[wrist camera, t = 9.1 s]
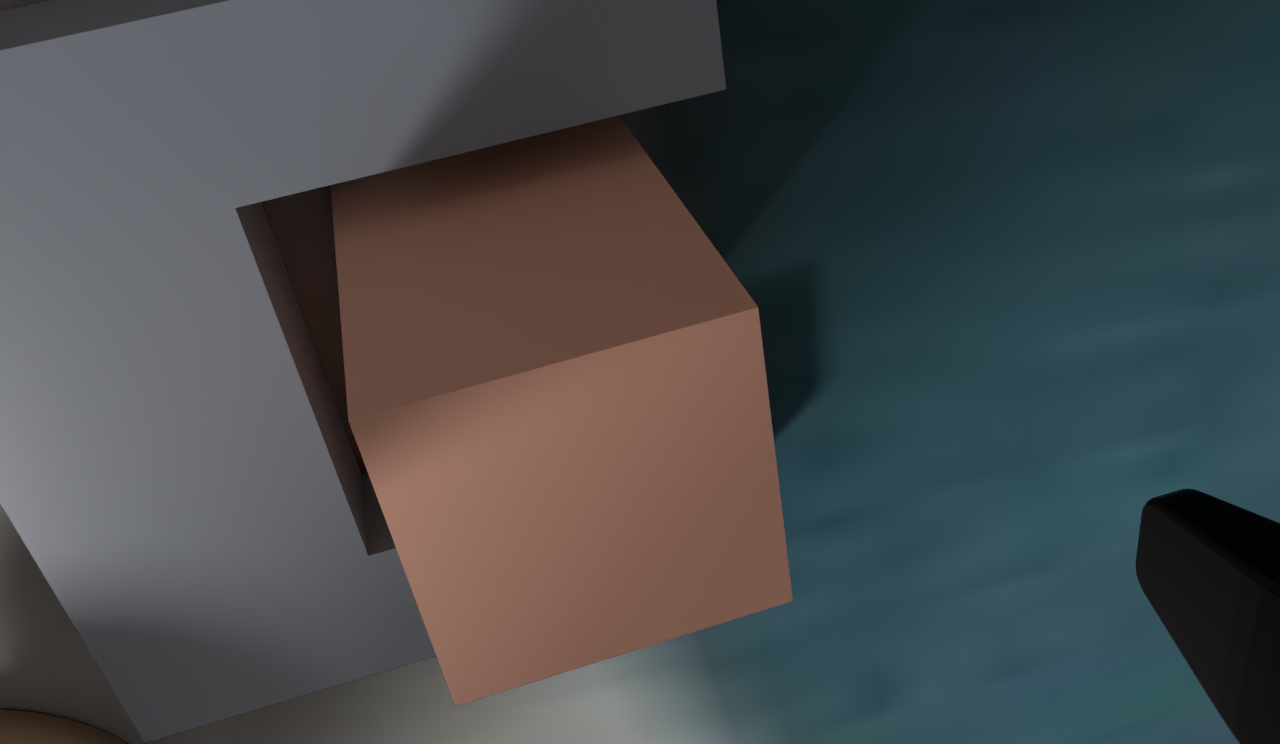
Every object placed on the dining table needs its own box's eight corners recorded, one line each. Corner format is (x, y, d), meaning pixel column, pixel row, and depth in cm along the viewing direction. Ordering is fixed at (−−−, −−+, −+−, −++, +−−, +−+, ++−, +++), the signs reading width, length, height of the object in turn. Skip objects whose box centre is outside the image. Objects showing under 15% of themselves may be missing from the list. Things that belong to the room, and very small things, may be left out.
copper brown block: (656, 346, 18) (792, 601, 13) (409, 415, 18) (455, 706, 13) (614, 108, 16) (758, 307, 11) (330, 178, 15) (348, 420, 11)
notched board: (738, 479, 20) (778, 552, 18) (157, 647, 19) (145, 742, 17) (657, -131, 14) (704, -104, 13) (-175, 48, 13) (-242, 103, 12)
